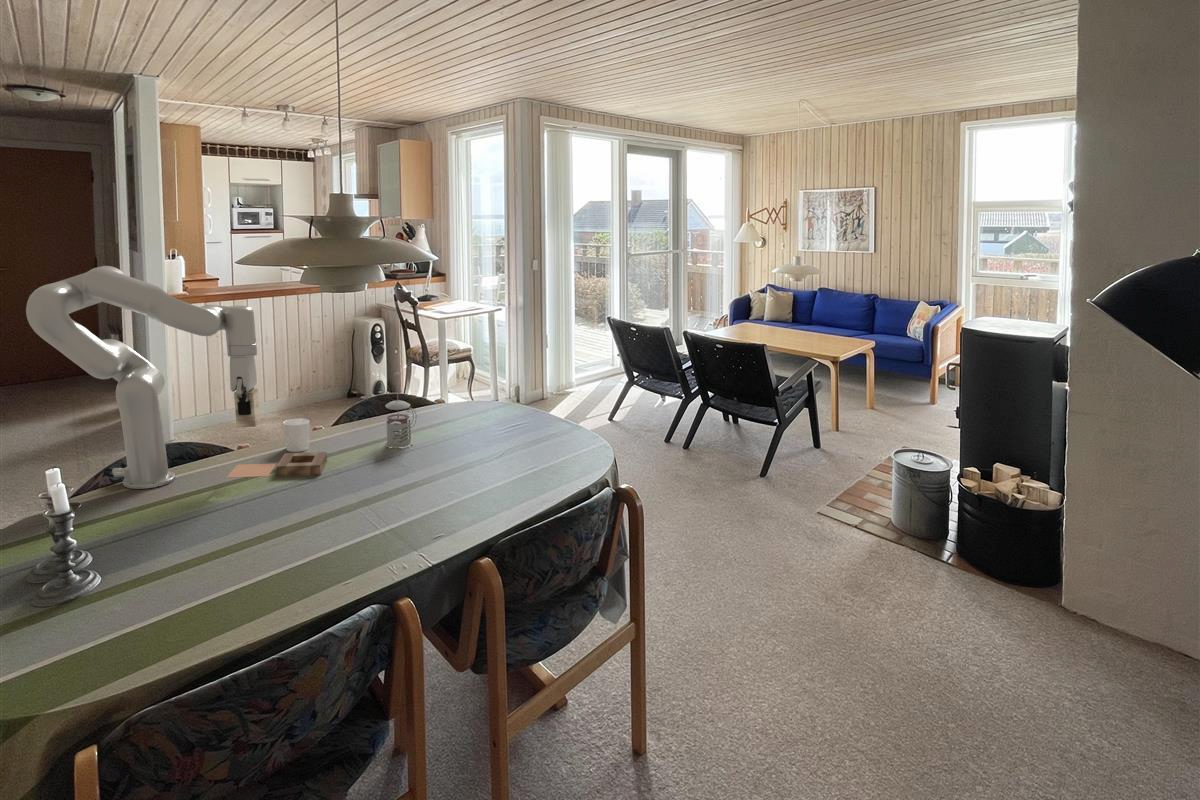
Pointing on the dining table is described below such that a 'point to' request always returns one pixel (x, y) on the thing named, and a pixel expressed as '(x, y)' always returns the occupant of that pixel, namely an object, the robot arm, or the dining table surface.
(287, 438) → the white cup
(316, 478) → the dining table surface
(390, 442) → the french press
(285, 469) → the walnut holder
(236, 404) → the birch peg
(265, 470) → the terracotta tile
